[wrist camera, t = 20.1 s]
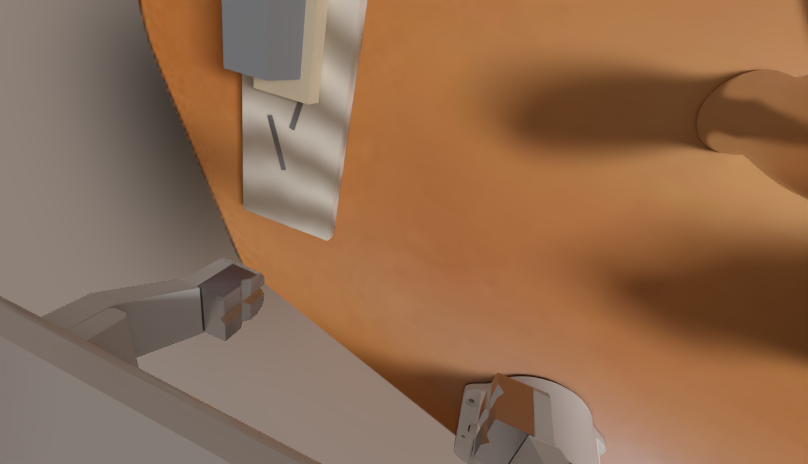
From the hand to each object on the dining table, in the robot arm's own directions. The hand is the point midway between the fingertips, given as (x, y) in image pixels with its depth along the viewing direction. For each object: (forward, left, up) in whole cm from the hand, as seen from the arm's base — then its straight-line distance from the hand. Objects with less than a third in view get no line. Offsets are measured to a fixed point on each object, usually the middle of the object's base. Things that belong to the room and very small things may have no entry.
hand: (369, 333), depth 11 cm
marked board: (0, +19, -26) cm, 32 cm away
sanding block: (+7, +19, -25) cm, 32 cm away
